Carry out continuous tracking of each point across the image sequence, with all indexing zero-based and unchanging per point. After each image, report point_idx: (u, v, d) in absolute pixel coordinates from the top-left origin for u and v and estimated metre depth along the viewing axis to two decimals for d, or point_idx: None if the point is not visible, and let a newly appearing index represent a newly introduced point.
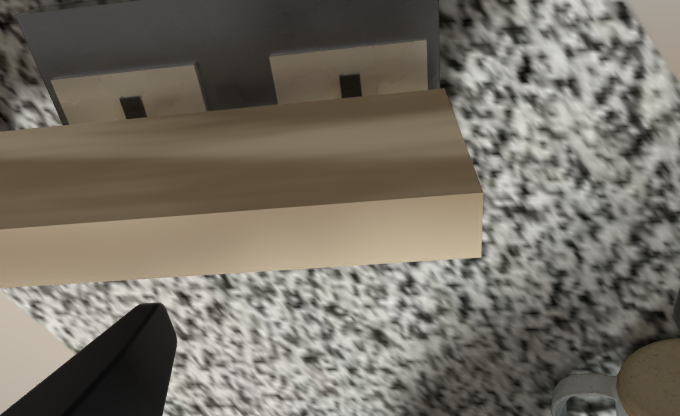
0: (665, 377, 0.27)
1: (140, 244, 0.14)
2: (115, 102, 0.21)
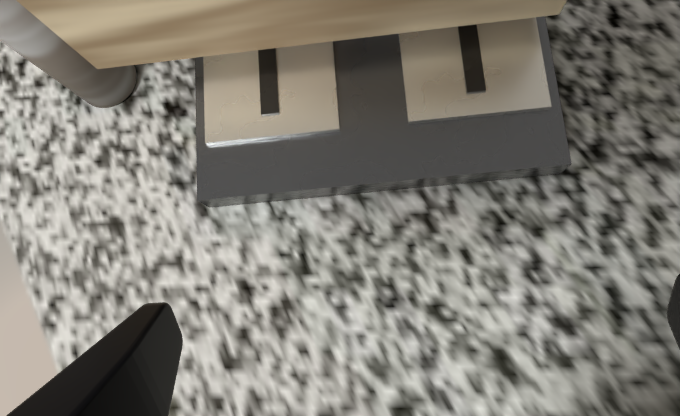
0: None
1: None
2: None
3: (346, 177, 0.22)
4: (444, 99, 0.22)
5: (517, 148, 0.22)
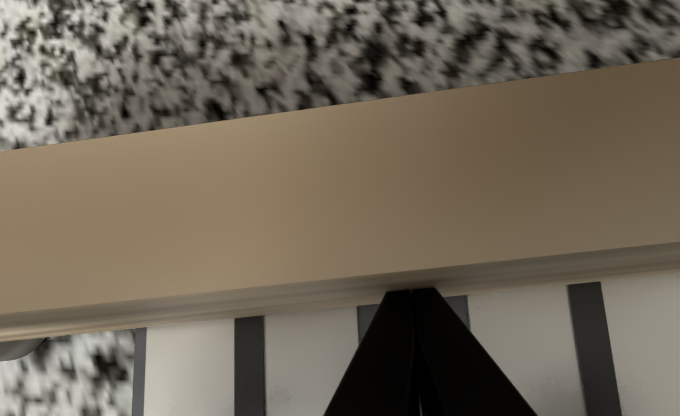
0: None
1: (319, 176, 0.06)
2: None
3: None
4: None
5: None
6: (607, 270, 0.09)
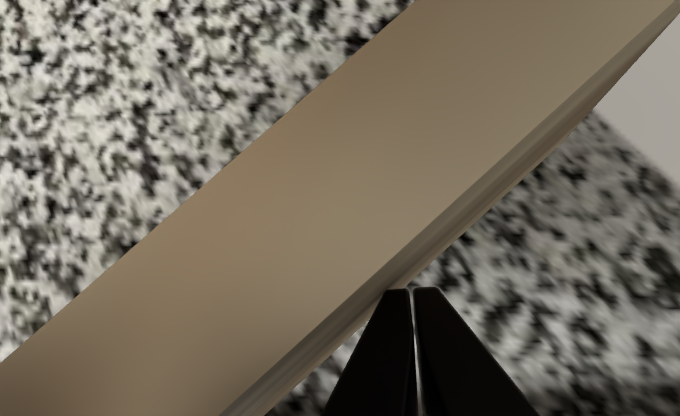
0: None
1: (68, 400, 0.05)
2: None
3: None
4: None
5: None
6: (426, 254, 0.09)
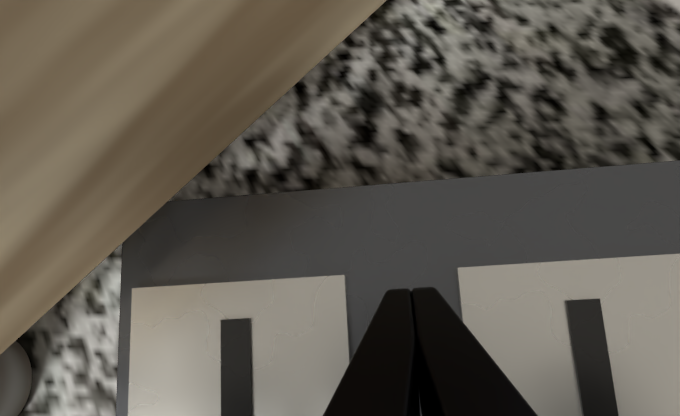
0: None
1: None
2: (212, 327, 0.14)
3: None
4: None
5: None
6: None
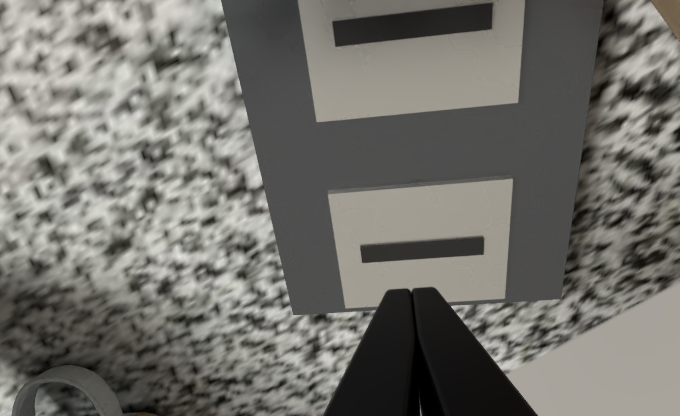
0: None
1: None
2: None
3: (260, 127, 0.19)
4: (353, 227, 0.21)
5: (305, 279, 0.23)
6: None
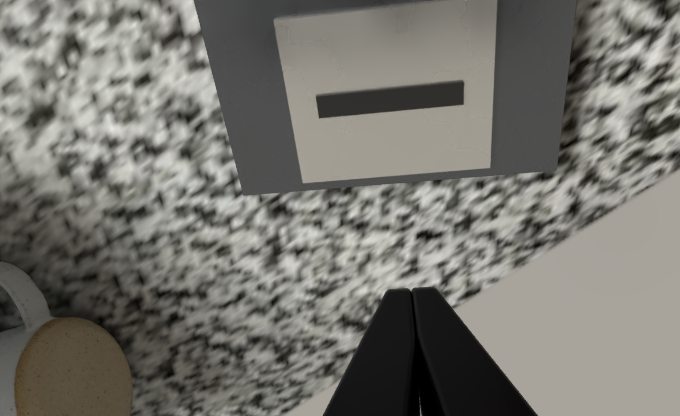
0: (82, 362, 0.24)
1: None
2: None
3: None
4: (306, 68, 0.17)
5: (255, 146, 0.19)
6: None
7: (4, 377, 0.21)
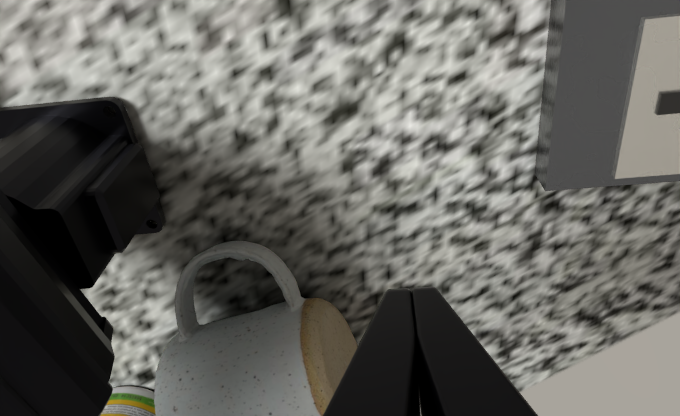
0: (336, 342, 0.24)
1: None
2: None
3: None
4: (661, 65, 0.18)
5: (575, 142, 0.20)
6: None
7: (290, 354, 0.21)
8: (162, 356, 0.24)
